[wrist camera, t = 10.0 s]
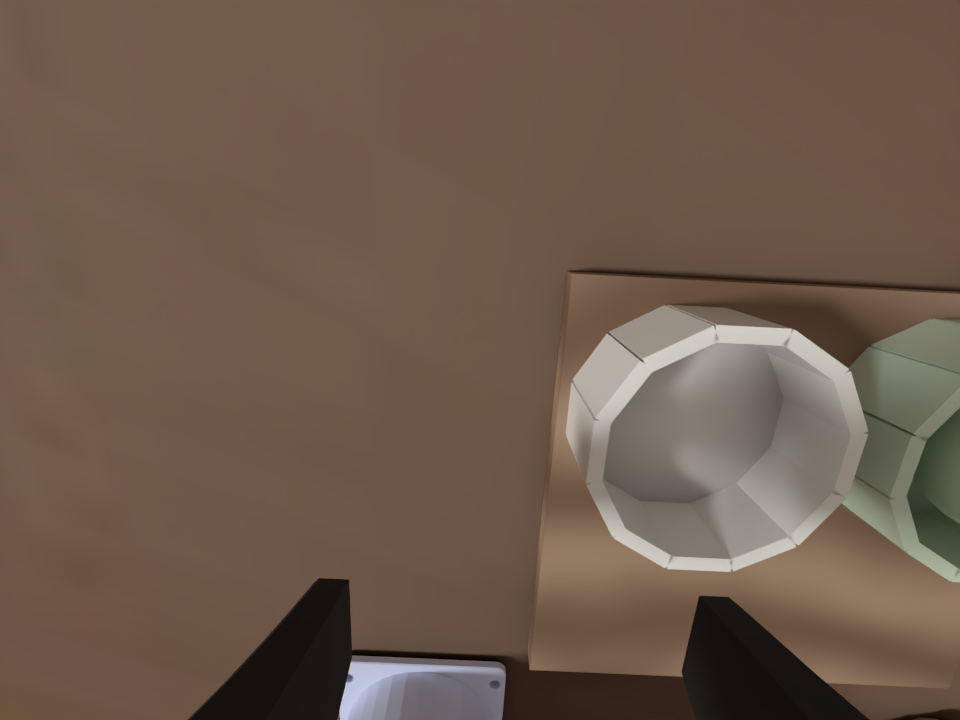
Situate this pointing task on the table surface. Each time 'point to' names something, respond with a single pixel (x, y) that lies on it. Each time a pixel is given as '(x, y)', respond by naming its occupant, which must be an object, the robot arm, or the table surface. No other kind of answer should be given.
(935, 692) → the table surface
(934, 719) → the pastry
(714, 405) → the cup grey
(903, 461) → the cup green
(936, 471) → the ball
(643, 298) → the board
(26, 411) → the table surface
